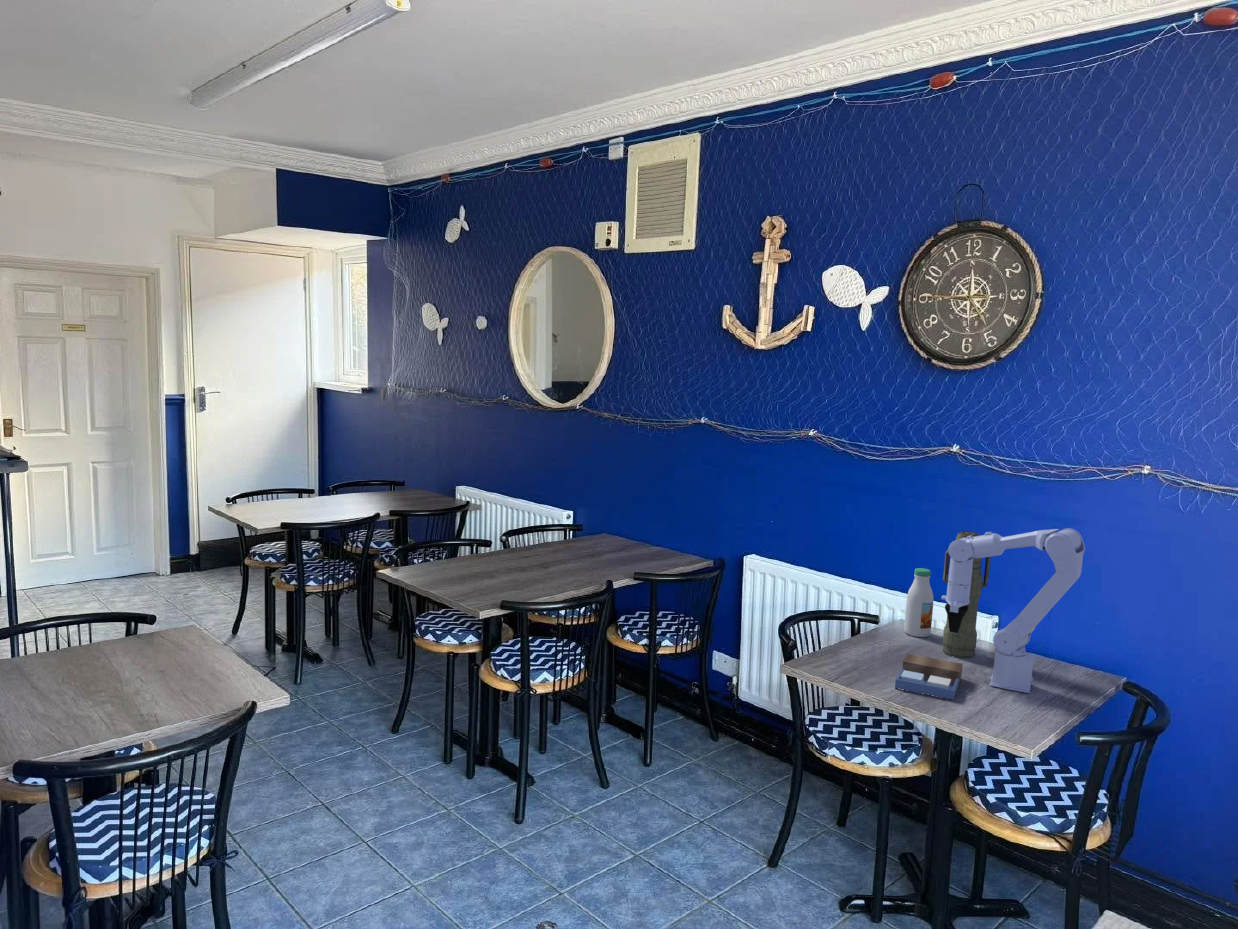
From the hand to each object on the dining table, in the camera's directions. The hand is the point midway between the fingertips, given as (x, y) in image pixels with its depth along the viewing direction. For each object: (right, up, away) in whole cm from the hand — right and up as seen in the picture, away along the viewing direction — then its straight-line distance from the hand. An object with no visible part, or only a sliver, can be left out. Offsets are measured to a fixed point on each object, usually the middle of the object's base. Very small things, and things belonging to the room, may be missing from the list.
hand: (953, 631), depth 239 cm
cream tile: (-10, -9, -16) cm, 21 cm away
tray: (-12, -12, -13) cm, 21 cm away
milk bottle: (0, -7, +31) cm, 32 cm away
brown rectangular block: (-8, -11, -6) cm, 15 cm away
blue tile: (-15, -9, -13) cm, 22 cm away
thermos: (+7, -9, +14) cm, 18 cm away
